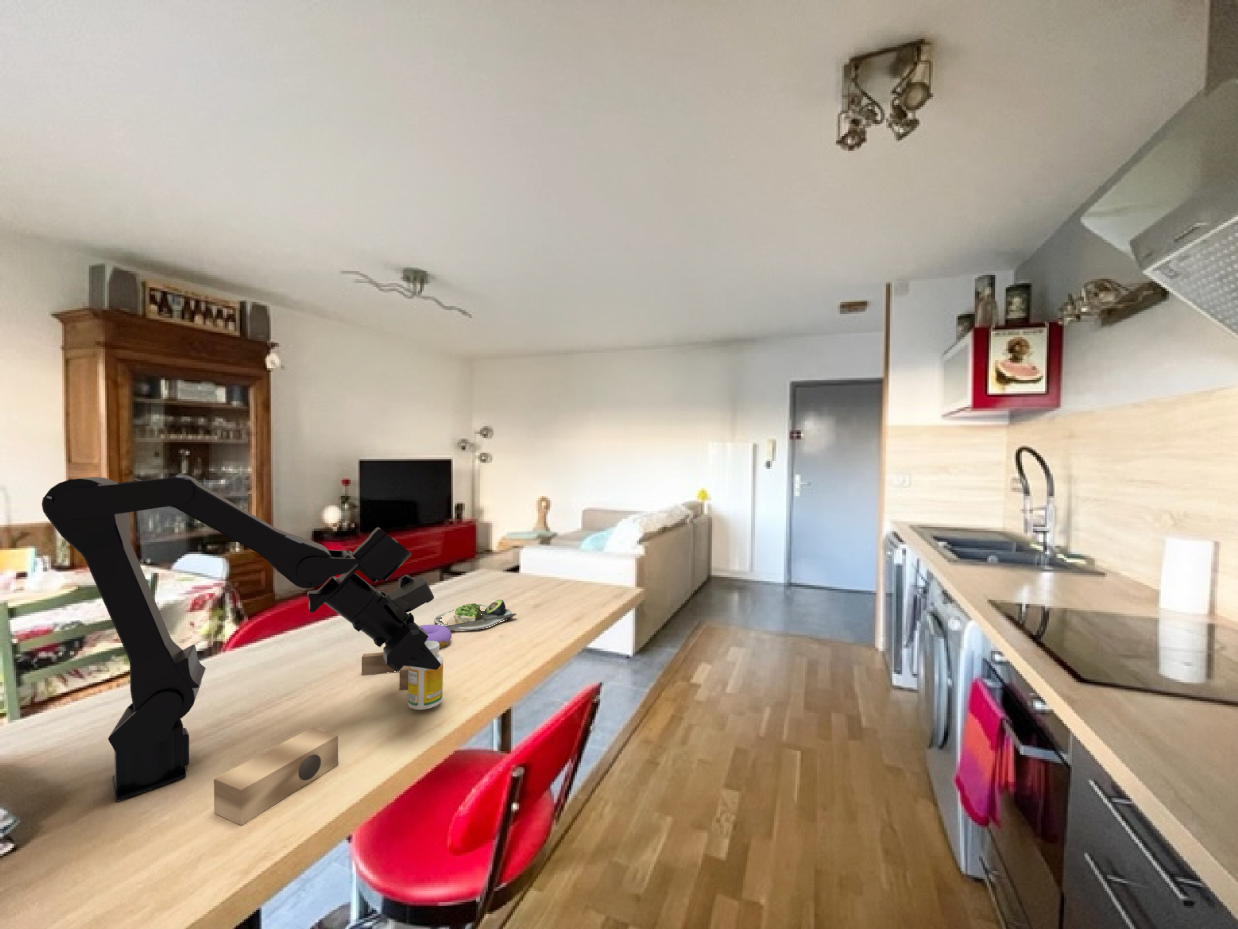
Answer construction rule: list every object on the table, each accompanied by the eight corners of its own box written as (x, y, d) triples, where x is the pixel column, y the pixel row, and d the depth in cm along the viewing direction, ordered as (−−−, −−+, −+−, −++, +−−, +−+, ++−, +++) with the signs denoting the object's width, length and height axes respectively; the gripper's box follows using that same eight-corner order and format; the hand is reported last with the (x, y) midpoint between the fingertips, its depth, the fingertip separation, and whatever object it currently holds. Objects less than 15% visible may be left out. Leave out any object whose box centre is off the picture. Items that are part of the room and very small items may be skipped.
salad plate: (469, 642, 113) (470, 622, 113) (414, 629, 121) (414, 610, 121) (524, 618, 130) (524, 600, 130) (472, 608, 138) (472, 591, 138)
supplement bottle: (403, 711, 80) (404, 651, 80) (413, 695, 85) (414, 639, 85) (437, 710, 80) (438, 650, 80) (446, 694, 86) (446, 638, 85)
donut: (394, 652, 105) (396, 628, 106) (413, 645, 114) (415, 623, 115) (441, 653, 105) (443, 629, 106) (456, 646, 114) (458, 624, 115)
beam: (242, 826, 56) (242, 790, 56) (214, 813, 58) (214, 778, 58) (339, 765, 67) (339, 735, 67) (312, 756, 69) (312, 727, 69)
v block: (403, 691, 88) (403, 671, 88) (358, 674, 95) (358, 655, 95) (440, 674, 95) (440, 656, 95) (395, 659, 102) (395, 642, 102)
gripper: (413, 575, 72) (487, 638, 79) (392, 554, 88) (454, 607, 94) (351, 639, 68) (434, 700, 74) (340, 605, 84) (409, 657, 90)
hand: (434, 661), depth 83 cm, fingers closed on supplement bottle, 5 cm apart
